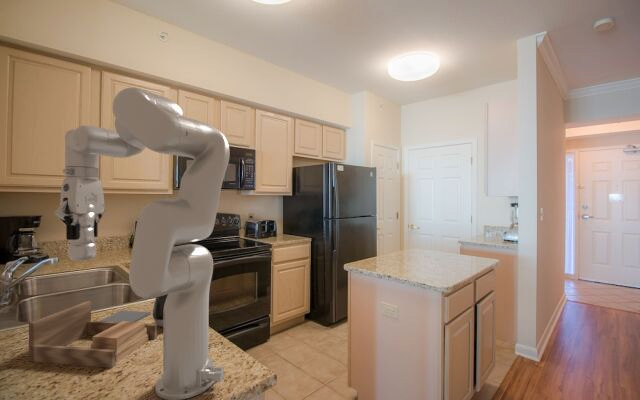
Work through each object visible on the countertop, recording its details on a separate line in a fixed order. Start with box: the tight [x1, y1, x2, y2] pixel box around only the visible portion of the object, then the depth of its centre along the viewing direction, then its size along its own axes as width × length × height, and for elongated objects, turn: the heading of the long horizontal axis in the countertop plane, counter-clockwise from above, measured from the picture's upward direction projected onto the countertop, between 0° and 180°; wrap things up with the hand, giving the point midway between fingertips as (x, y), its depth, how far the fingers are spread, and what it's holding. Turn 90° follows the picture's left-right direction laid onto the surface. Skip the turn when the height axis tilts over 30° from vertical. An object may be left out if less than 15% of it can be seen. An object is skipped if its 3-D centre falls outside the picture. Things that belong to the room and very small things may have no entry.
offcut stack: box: [90, 321, 149, 363], centre depth 86 cm, size 8×12×6 cm, turn 172°
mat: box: [99, 310, 152, 322], centre depth 107 cm, size 12×12×1 cm
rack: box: [28, 300, 158, 369], centre depth 86 cm, size 24×17×10 cm
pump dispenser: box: [152, 294, 168, 328], centre depth 103 cm, size 10×10×15 cm
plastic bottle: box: [67, 205, 98, 262], centre depth 87 cm, size 6×7×20 cm
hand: (82, 237), depth 87 cm, fingers closed on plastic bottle, 5 cm apart
